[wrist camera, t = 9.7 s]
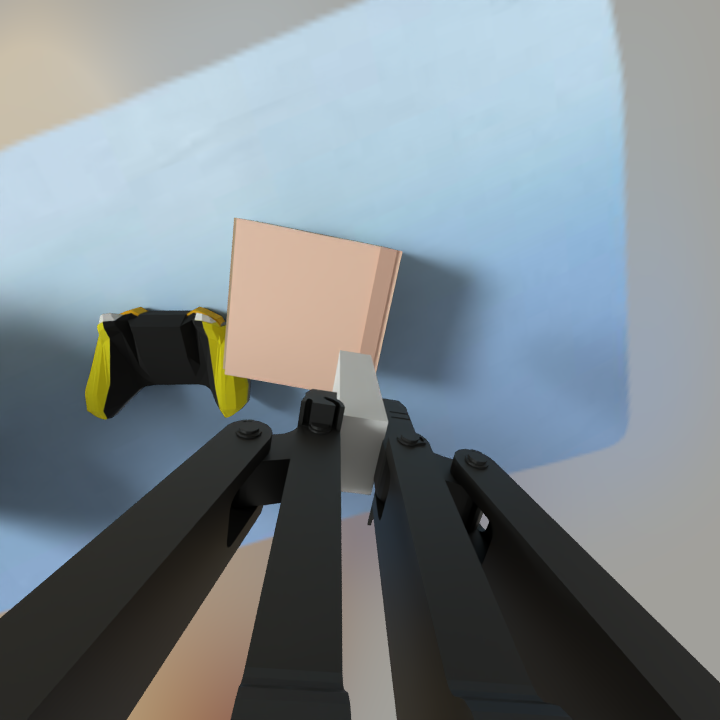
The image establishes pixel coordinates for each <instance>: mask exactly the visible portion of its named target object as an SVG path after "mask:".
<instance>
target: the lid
mask: <svg viewBox="0 0 720 720" xmlns="http://www.w3.org/2000/svg"><path fill="white" fill-rule="evenodd" d="M401 256H402V251H398V250H393V249H388V248H383V247H378V246H373V245H368V244H363V243H358V242H353V241H348V240H343V239H338V238H333V237H328V236H323V235H318V234H313V233H308V232H303V231H299V230H294V229H289V228H284V227H279V226H274V225H269V224H264V223H259V222H254V221H249V220H244V219H238V218H237V220H236V233H235V246H234V259H233V272H232V285H231V298H230V311H229V324H228V337H227V350H226V363H225V374H226V375H231V376H237V377H242V378H248V379H253V380H259V381H265V382H270V383H276V384H281V385H287V386H293V387H298V388H304V389H309V390H311V389H317V390H324V391H331V392H332V391H333V386H334V380H335V375H336V369H337V364H338V358H339V352H340V350H342V351H348V352H354V353H360V354H366V355H371V357H372V361H373V365H374V369H375V373H376V370H377V366H378V361H379V357H380V352H381V348H382V343H383V338H384V334H385V329H386V325H387V320H388V315H389V311H390V306H391V302H392V297H393V293H394V288H395V283H396V279H397V274H398V270H399V265H400V260H401Z"/></svg>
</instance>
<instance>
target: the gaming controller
mask: <svg viewBox="0 0 720 720" xmlns="http://www.w3.org/2000/svg"><path fill="white" fill-rule="evenodd" d="M97 329H98V333H99V337H98V342H97V346H96V350H95V354H94V359H93V363H92V367H91V371H90V375H89V378H88V382H87V386H86V389H85V398H86V405H87V411H88V412H90V413H91V414H93V415H95V416H96V417H98V418H101V419H109V418H112V417H114V416H115V415H117V414H118V413H119V412H120V410H121V409H122V408H123V407H124V406H125V405H126V404H127V403H128V402H129V401H130V400H131V399H132V398H133V397H134V396H135V395H136V394H137V393H138V392H139V391H140V390H141V389H142V388H143V387H145V386H150V385H175V384H200V385H205V386H207V387H208V388H210V389H211V391H212V394H213V396H214V399H215V401H216V404H217V405H218V407H219V409H220V411H221V412H222V414H223V415H224V417H226V418H227V417H230V416H232V415H234V414H235V413H236V412H238V411H239V410H240V409H242V408H243V407H244V406H245V404H246V403H247V402H248V401H249V398H250V385H251V381H250V379H248V378H242V377H237V376H231V375H226V374H225V369H223V361H224V348H225V334H226V321H225V320H224V319H223V317H222V316H220V315H218V314H216V313H214V312H212V311H210V310H208V309H206V308H202V307H198V308H196V309H194V310H192V311H147V310H146V309H144V308H142V307H139V308H135V309H132V310H129V311H126V312H123V313H121V314H112V313H108V314H102V315H101V316H100V319H99V324H98V325H97Z"/></svg>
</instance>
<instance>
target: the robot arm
mask: <svg viewBox="0 0 720 720" xmlns="http://www.w3.org/2000/svg"><path fill="white" fill-rule="evenodd" d="M373 484H375V494H374V499H373V503H372V507H371V511H370V515H369V519H368V525H371V523H372V520H373V519H374V526H375V534H376V543H377V551H378V560H379V569H380V577H381V586H382V595H383V603H384V612H385V621H386V629H387V637H388V646H389V655H390V664H391V672H392V681H393V690H394V698H395V707H396V716H397V720H720V683H719V681H718V680H716V678H714V676H712V675H711V674H710V673H709V672H708V671H707V670H706V669H705V668H704V667H703V666H702V665H701V664H700V663H699V662H698V661H697V660H696V659H695V658H694V657H693V656H692V655H691V654H690V653H689V652H688V651H687V650H686V649H685V648H684V647H683V646H682V645H681V644H680V643H679V642H678V641H677V640H676V639H675V638H674V637H673V636H672V635H671V634H670V633H669V632H667V630H665V628H664V627H662V626H661V624H659V623H658V622H657V621H656V620H655V619H654V618H653V617H652V616H651V615H650V614H649V613H648V612H647V611H646V610H645V609H644V608H643V607H642V606H641V605H640V604H639V603H638V602H637V601H636V600H635V599H634V598H633V597H632V596H631V595H630V594H629V593H628V592H627V591H626V590H625V589H624V588H623V587H622V586H621V585H620V584H619V583H618V582H617V581H616V580H615V579H613V577H612V576H610V574H609V573H607V572H606V571H605V570H604V569H603V568H602V567H601V566H600V565H599V564H598V563H597V562H596V561H595V560H594V559H593V558H592V557H591V556H590V555H589V554H588V553H587V552H586V551H585V550H584V549H583V548H582V547H581V546H580V545H579V544H578V543H577V542H576V541H575V540H574V539H573V538H572V537H571V536H570V535H569V534H568V533H567V532H566V531H565V530H564V529H563V528H562V527H560V525H559V524H558V523H557V522H556V521H554V519H552V518H551V517H550V516H549V515H548V514H547V513H546V512H545V511H544V510H543V509H542V508H541V507H540V506H539V505H538V504H537V503H536V502H535V501H534V500H533V499H532V498H531V497H530V496H529V495H528V494H527V493H526V492H525V491H524V490H523V489H522V488H521V487H520V486H519V485H517V483H516V482H515V481H514V480H513V479H512V478H511V477H510V476H509V475H508V474H507V473H506V472H505V471H504V470H503V469H502V468H501V467H499V466H498V465H497V464H496V463H495V462H494V461H493V460H492V459H491V458H489V457H488V456H486V455H484V454H482V453H481V452H479V451H476V450H469V449H461V450H458V451H456V452H455V455H454V458H453V459H450V458H447V457H443V456H440V455H438V454H435V453H433V451H432V449H431V446H430V444H429V442H428V441H427V440H426V439H425V438H424V437H423V436H421V435H419V434H417V433H415V430H414V427H413V425H412V422H411V420H410V417H409V415H408V412H407V409H406V407H405V406H404V405H403V404H401V403H400V402H399V401H396V400H389V399H383V398H382V396H381V392H380V388H379V384H378V380H377V377H376V373H375V369H374V365H373V361H372V357H371V355H366V354H360V353H354V352H348V351H342V350H340V352H339V358H338V364H337V369H336V375H335V380H334V386H333V391H332V392H331V391H324V390H317V389H311V390H310V391H308V392H307V393H306V395H305V397H304V398H303V400H302V401H301V408H300V414H299V421H298V427H297V428H296V429H295V430H293V431H291V432H288V433H285V434H274V435H272V430H271V428H270V427H269V426H268V425H267V424H264V423H262V422H259V421H254V420H240V421H236V422H233V423H231V424H229V425H227V426H226V427H225V428H224V429H223V430H221V431H220V432H219V433H218V434H217V435H216V436H214V437H213V438H212V439H211V440H210V441H208V442H207V443H206V444H205V445H204V446H203V447H201V448H200V449H199V450H198V451H197V452H196V453H194V454H193V455H192V456H191V457H190V458H188V459H187V460H186V461H185V462H184V463H183V464H181V465H180V466H179V467H178V468H177V469H175V470H174V471H173V472H172V473H171V474H170V475H168V476H167V477H166V478H165V479H164V480H163V481H161V482H160V483H159V484H158V485H157V486H155V487H154V488H153V489H152V490H151V491H150V492H148V493H147V494H146V495H145V496H144V497H142V498H141V499H140V500H139V501H138V502H137V503H135V504H134V505H133V506H132V507H131V508H130V509H128V510H127V511H126V512H125V513H124V514H122V515H121V516H120V517H119V518H118V519H117V520H115V521H114V522H113V523H112V524H111V525H110V526H108V527H107V528H106V529H105V530H104V531H102V532H101V533H100V534H99V535H98V536H97V537H95V538H94V539H93V540H92V541H91V542H89V543H88V544H87V545H86V546H85V547H84V548H82V549H81V550H80V551H79V552H78V553H77V554H75V555H74V556H73V557H72V558H71V559H69V560H68V561H67V562H66V563H65V564H64V565H62V566H61V567H60V568H59V569H58V570H56V571H55V572H54V573H53V574H52V575H51V576H49V577H48V578H47V579H46V580H45V581H44V582H42V583H41V584H40V585H39V586H38V587H36V588H35V589H34V590H33V591H32V592H31V593H29V594H28V595H27V596H26V597H25V598H23V599H22V600H21V601H20V602H19V603H18V604H16V605H15V606H14V607H13V608H12V609H11V610H9V611H8V612H7V613H6V614H5V615H3V616H2V617H1V618H0V720H127V718H128V717H129V715H130V714H131V712H132V710H133V709H134V707H135V706H136V704H137V702H138V701H139V700H140V698H141V697H142V695H143V694H144V692H145V691H146V689H147V687H148V686H149V684H150V683H151V681H152V680H153V678H154V677H155V675H156V674H157V672H158V670H159V669H160V667H161V666H162V664H163V663H164V661H165V659H166V658H167V657H168V655H169V654H170V652H171V651H172V649H173V647H174V646H175V644H176V643H177V641H178V640H179V638H180V637H181V635H182V634H183V632H184V631H185V629H186V627H187V626H188V624H189V623H190V621H191V620H192V618H193V617H194V615H195V614H196V612H197V610H198V609H199V607H200V606H201V604H202V603H203V601H204V599H205V598H206V596H207V595H208V594H209V592H210V591H211V589H212V587H213V586H214V584H215V583H216V581H217V580H218V578H219V577H220V575H221V573H222V572H223V571H224V569H225V567H226V566H227V564H228V562H229V561H230V560H231V558H232V557H233V555H234V553H235V552H236V551H237V549H238V547H239V546H240V544H241V543H242V541H243V540H244V538H245V537H246V535H247V534H248V532H249V531H250V529H251V527H252V526H253V524H254V523H255V521H256V520H257V518H258V517H259V515H260V514H261V511H262V508H263V505H269V504H276V503H281V505H280V509H279V514H278V518H277V523H276V528H275V532H274V537H273V541H272V546H271V551H270V555H269V560H268V564H267V569H266V574H265V578H264V583H263V587H262V592H261V596H260V601H259V606H258V610H257V615H256V620H255V624H254V629H253V633H252V638H251V643H250V647H249V651H248V656H247V661H246V665H245V670H244V674H243V679H242V682H241V684H240V686H239V688H238V692H237V696H236V699H235V704H234V708H233V713H232V717H231V720H351V711H350V701H349V696H348V692H346V691H345V690H344V687H343V677H342V571H341V570H342V569H341V568H342V567H341V491H342V492H350V493H358V494H366V495H371V492H372V488H373ZM483 513H484V514H485V516H486V517H487V518H488V520H489V524H488V526H487V529H486V530H485V529H484V528H483V527H482V526H481V525H480V524H479V522H480V519H481V517H482V514H483Z"/></svg>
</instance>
